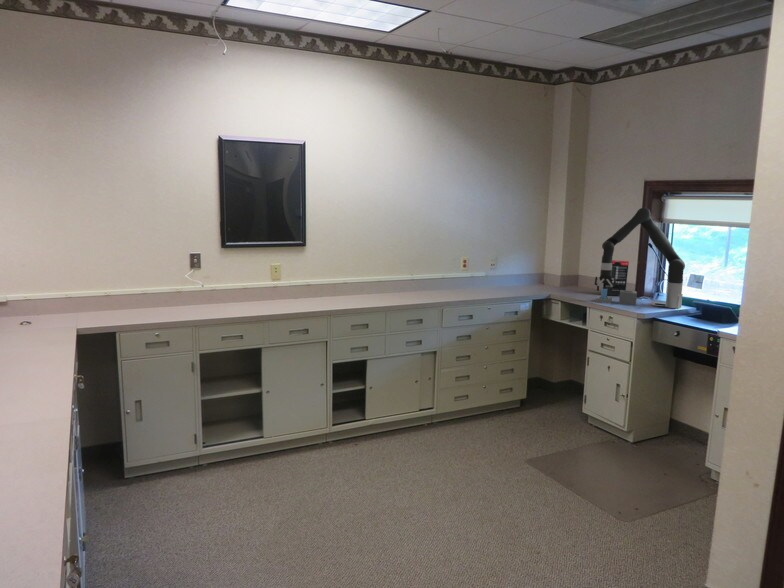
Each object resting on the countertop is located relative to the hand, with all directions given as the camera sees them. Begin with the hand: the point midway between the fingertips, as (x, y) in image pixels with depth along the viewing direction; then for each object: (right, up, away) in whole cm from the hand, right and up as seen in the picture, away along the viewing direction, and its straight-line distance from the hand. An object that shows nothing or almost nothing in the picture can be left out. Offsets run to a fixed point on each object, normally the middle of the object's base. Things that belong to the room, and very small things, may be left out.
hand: (604, 291), depth 410 cm
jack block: (+7, -8, -1) cm, 11 cm away
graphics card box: (+18, -3, +31) cm, 36 cm away
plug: (0, -7, +2) cm, 7 cm away
